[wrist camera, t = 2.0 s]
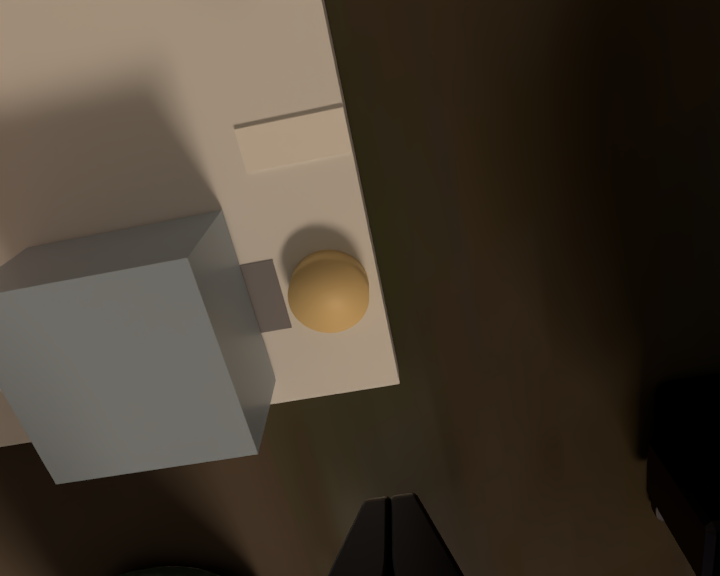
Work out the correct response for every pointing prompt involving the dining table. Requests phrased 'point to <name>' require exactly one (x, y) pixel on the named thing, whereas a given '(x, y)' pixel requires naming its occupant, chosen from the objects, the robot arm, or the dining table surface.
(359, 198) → the panel
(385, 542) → the robot arm
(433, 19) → the dining table surface
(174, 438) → the breaker toggle
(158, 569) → the coffee jar
